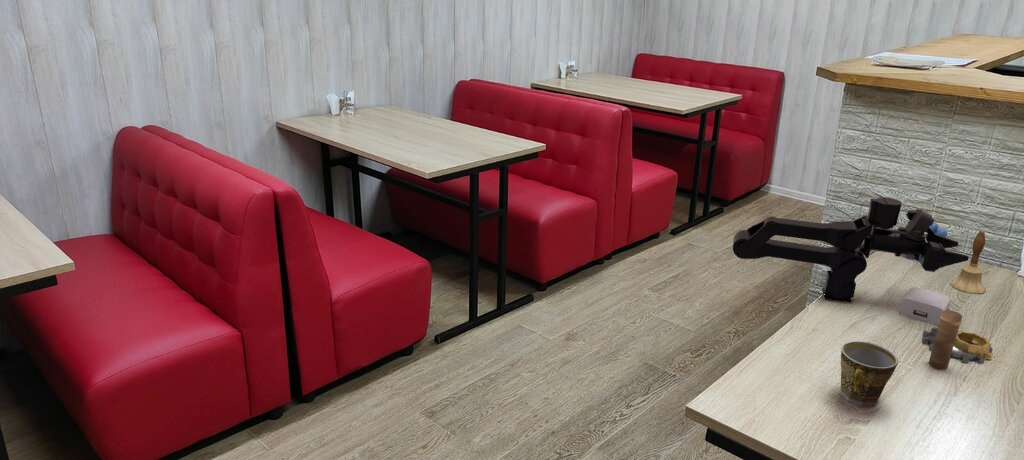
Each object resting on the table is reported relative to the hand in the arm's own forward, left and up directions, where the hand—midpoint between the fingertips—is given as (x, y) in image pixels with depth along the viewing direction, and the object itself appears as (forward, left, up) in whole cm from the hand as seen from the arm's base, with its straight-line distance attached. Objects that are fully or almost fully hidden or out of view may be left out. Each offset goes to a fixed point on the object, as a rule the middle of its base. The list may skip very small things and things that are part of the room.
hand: (963, 251), depth 171 cm
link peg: (-8, -28, -17) cm, 34 cm away
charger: (-4, 0, -17) cm, 18 cm away
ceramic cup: (-27, -48, -17) cm, 58 cm away
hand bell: (+10, +19, -17) cm, 27 cm away
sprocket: (-2, -18, -17) cm, 25 cm away
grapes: (+2, +36, -17) cm, 39 cm away
